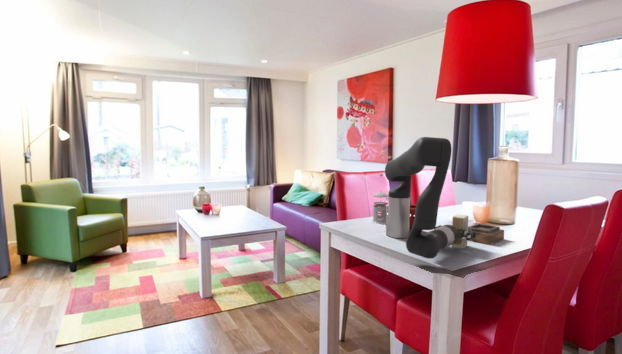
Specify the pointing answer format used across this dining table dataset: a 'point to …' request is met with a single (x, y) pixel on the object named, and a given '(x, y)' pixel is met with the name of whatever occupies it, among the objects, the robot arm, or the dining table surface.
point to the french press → (380, 208)
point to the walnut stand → (487, 233)
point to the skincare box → (460, 223)
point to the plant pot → (412, 215)
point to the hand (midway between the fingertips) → (461, 229)
